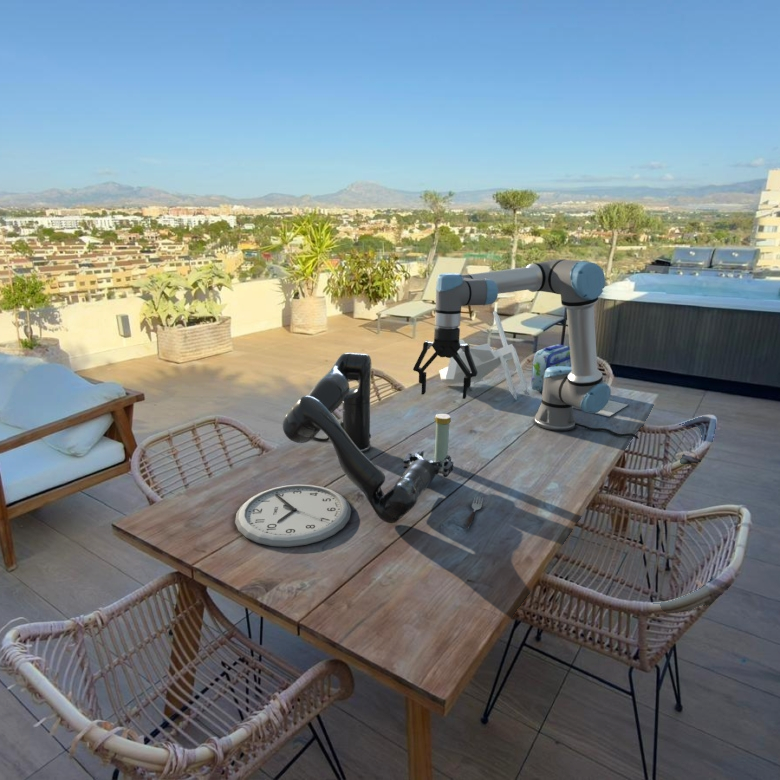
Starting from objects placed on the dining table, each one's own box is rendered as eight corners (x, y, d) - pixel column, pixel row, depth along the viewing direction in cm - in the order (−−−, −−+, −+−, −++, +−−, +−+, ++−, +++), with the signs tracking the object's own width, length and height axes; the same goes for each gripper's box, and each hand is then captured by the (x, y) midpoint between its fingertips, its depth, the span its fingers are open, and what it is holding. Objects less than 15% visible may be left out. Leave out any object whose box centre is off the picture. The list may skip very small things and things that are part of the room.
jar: (431, 462, 170) (433, 416, 165) (442, 460, 172) (444, 414, 167) (438, 467, 166) (440, 420, 161) (449, 465, 168) (452, 418, 163)
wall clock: (351, 538, 125) (223, 542, 122) (351, 544, 125) (223, 548, 123) (350, 480, 153) (246, 482, 151) (350, 485, 154) (246, 487, 151)
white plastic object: (461, 429, 252) (437, 405, 227) (444, 352, 274) (420, 323, 250) (535, 404, 240) (518, 377, 215) (510, 326, 262) (492, 293, 237)
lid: (432, 420, 166) (432, 414, 165) (444, 418, 168) (445, 412, 167) (440, 425, 161) (440, 419, 161) (453, 423, 164) (453, 417, 163)
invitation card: (608, 416, 214) (573, 407, 224) (608, 416, 214) (573, 408, 224) (628, 404, 229) (594, 396, 238) (628, 405, 229) (594, 397, 238)
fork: (461, 529, 132) (462, 523, 131) (474, 500, 146) (474, 494, 146) (471, 532, 131) (472, 525, 130) (483, 502, 145) (483, 495, 145)
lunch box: (547, 397, 237) (552, 352, 231) (526, 391, 245) (531, 348, 238) (574, 386, 255) (580, 344, 249) (554, 381, 262) (559, 340, 256)
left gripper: (393, 484, 151) (413, 462, 165) (441, 494, 146) (457, 471, 160) (394, 460, 149) (414, 440, 163) (442, 470, 143) (458, 448, 158)
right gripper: (489, 327, 156) (484, 395, 162) (410, 321, 162) (408, 388, 169) (487, 331, 149) (482, 403, 156) (404, 326, 155) (402, 394, 162)
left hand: (435, 455), depth 161 cm, fingers open, 8 cm apart
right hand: (443, 395), depth 162 cm, fingers open, 12 cm apart
